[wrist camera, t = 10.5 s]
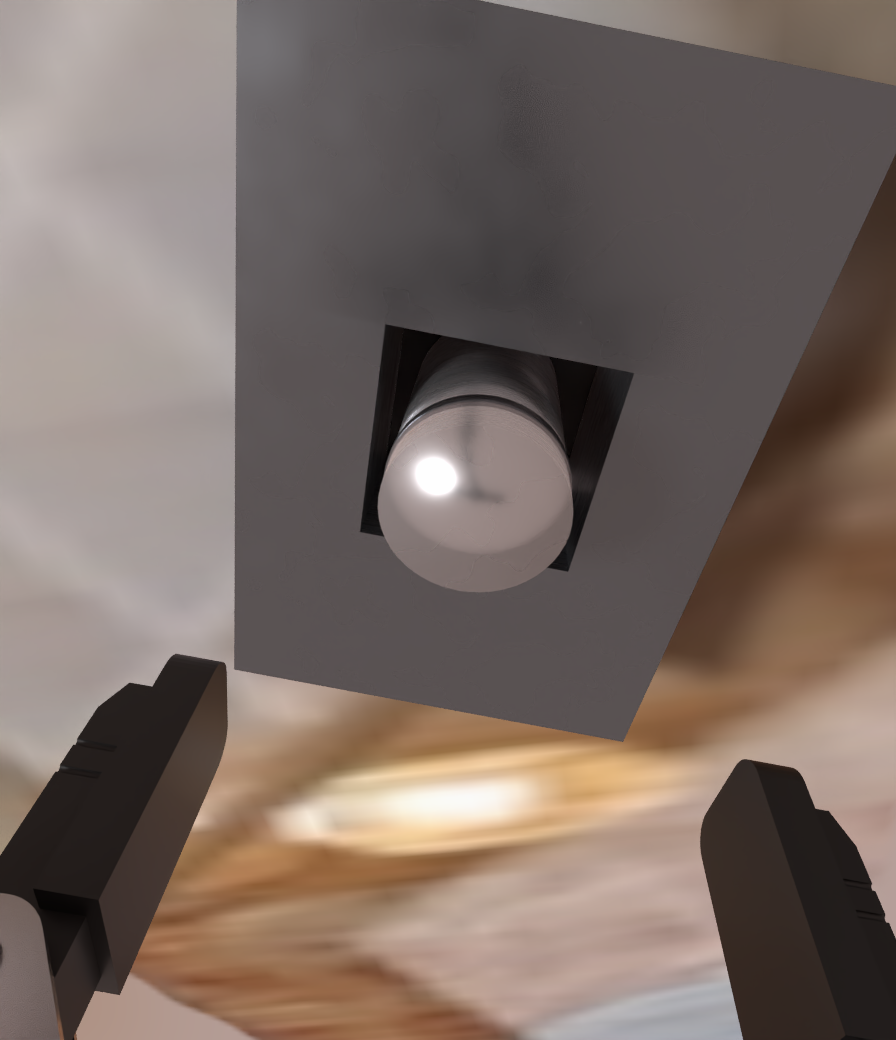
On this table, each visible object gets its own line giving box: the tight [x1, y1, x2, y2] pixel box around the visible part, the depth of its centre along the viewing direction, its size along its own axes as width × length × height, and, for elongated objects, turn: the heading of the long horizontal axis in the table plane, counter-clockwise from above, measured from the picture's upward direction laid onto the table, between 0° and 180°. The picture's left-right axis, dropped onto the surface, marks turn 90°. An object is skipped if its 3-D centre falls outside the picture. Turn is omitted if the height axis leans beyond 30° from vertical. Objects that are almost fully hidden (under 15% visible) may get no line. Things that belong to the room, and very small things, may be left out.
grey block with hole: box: [234, 0, 896, 742], centre depth 21 cm, size 20×14×5 cm
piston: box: [378, 336, 573, 592], centre depth 20 cm, size 5×5×8 cm
